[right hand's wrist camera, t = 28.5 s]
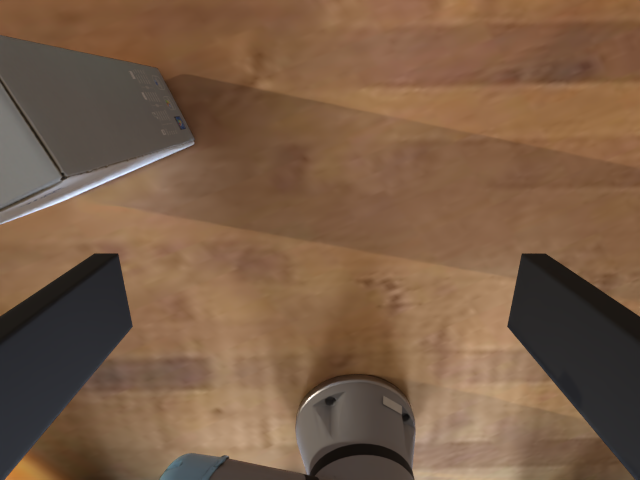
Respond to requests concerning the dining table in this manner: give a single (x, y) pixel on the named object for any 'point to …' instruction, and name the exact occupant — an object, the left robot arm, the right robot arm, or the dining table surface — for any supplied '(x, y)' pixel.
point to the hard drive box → (77, 123)
